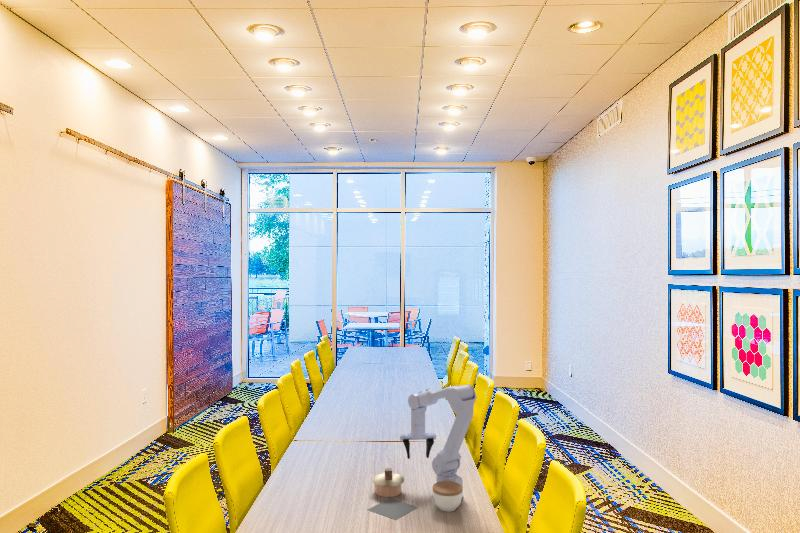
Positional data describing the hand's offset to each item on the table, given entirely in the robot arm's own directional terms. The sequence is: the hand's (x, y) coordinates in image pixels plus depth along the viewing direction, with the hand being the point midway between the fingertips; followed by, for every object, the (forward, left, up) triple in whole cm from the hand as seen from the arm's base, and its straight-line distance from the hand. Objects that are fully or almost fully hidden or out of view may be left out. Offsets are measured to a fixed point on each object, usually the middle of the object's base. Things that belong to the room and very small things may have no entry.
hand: (417, 457), depth 223 cm
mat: (-7, +25, -10) cm, 28 cm away
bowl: (+4, +14, -10) cm, 18 cm away
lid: (+4, +14, -6) cm, 16 cm away
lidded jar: (-22, +12, -10) cm, 27 cm away
